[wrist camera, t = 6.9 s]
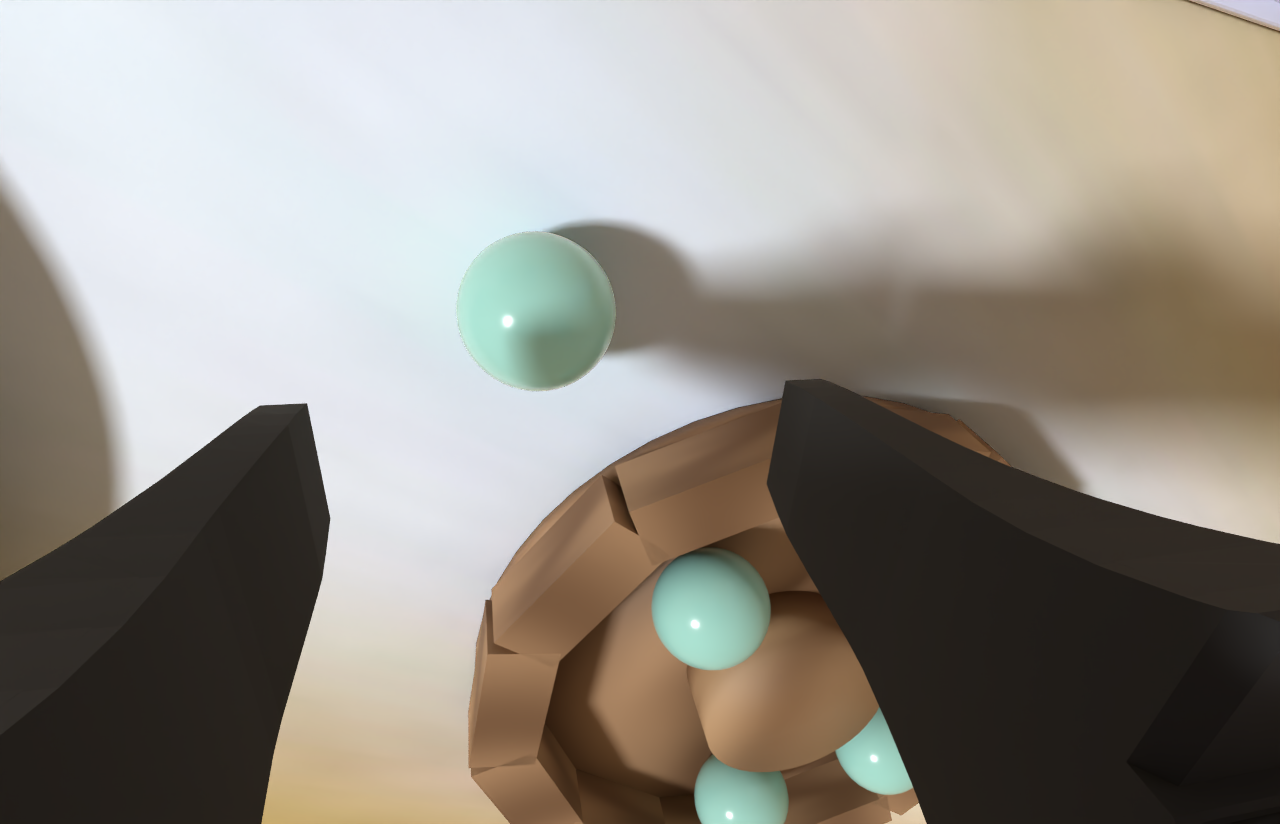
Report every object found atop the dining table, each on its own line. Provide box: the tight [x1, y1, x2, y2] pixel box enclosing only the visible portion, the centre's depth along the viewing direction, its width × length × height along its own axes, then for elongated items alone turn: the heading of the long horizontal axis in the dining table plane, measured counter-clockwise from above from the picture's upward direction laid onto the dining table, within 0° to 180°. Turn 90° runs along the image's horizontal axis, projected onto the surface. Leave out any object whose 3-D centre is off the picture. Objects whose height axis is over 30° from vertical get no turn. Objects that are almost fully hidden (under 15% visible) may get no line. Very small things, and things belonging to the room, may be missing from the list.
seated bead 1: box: [694, 754, 789, 824], centre depth 26 cm, size 3×3×3 cm
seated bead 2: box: [835, 707, 913, 795], centre depth 26 cm, size 3×3×3 cm
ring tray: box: [468, 397, 1011, 824], centre depth 24 cm, size 20×20×3 cm
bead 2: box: [651, 547, 771, 670], centre depth 20 cm, size 3×3×3 cm
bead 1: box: [456, 231, 616, 391], centre depth 15 cm, size 3×3×3 cm
